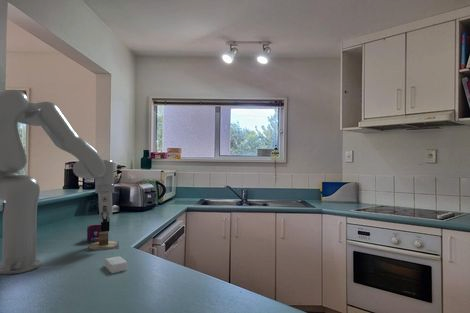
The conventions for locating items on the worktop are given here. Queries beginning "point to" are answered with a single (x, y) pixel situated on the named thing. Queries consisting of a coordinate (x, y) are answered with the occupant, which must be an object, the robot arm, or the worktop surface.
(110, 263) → the soap
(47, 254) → the worktop surface
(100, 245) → the lid
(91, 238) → the mug
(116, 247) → the mat
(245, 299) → the worktop surface
